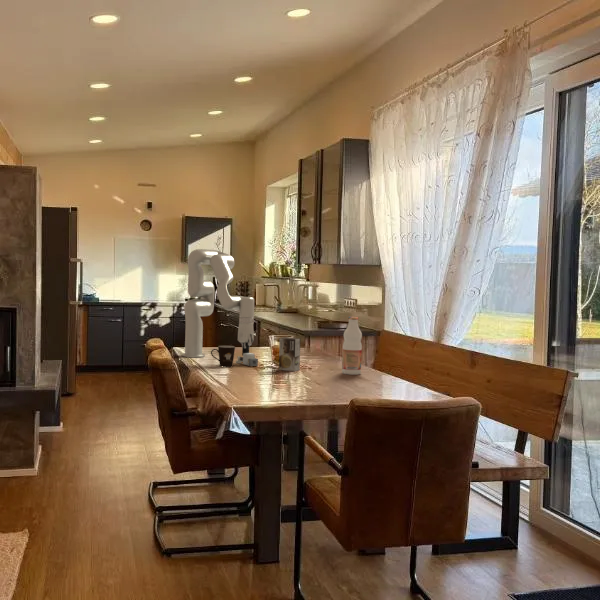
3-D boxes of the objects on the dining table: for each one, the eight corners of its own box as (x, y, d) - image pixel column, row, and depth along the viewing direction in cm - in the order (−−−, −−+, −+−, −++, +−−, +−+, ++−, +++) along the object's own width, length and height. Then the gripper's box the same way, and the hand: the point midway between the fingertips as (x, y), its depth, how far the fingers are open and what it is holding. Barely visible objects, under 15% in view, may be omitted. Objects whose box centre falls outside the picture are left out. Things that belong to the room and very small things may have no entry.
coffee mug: (236, 365, 372) (236, 346, 371) (232, 367, 363) (233, 347, 363) (213, 364, 373) (214, 345, 373) (210, 366, 364) (210, 346, 364)
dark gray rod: (237, 361, 382) (238, 355, 382) (243, 361, 384) (243, 355, 383) (251, 365, 368) (251, 359, 368) (256, 365, 370) (257, 359, 370)
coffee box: (300, 370, 363) (301, 338, 363) (294, 371, 357) (295, 339, 357) (283, 368, 367) (284, 336, 366) (278, 369, 361) (279, 337, 361)
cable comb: (235, 362, 381) (235, 356, 381) (245, 362, 384) (246, 356, 384) (236, 363, 380) (236, 356, 380) (246, 362, 383) (247, 356, 383)
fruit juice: (337, 372, 359) (340, 316, 357) (353, 371, 364) (355, 316, 363) (349, 375, 351) (351, 317, 350) (364, 374, 356) (366, 317, 355)
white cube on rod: (242, 364, 375) (243, 353, 375) (250, 363, 378) (250, 352, 377) (246, 365, 372) (247, 354, 371) (254, 364, 374) (254, 353, 374)
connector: (248, 366, 370) (248, 358, 370) (255, 365, 372) (255, 358, 372) (250, 366, 368) (250, 359, 368) (257, 366, 370) (257, 358, 370)
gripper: (233, 319, 382) (232, 354, 382) (246, 321, 369) (245, 357, 369) (246, 319, 385) (245, 353, 386) (259, 321, 373) (258, 357, 373)
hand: (245, 355), depth 378 cm, fingers closed
